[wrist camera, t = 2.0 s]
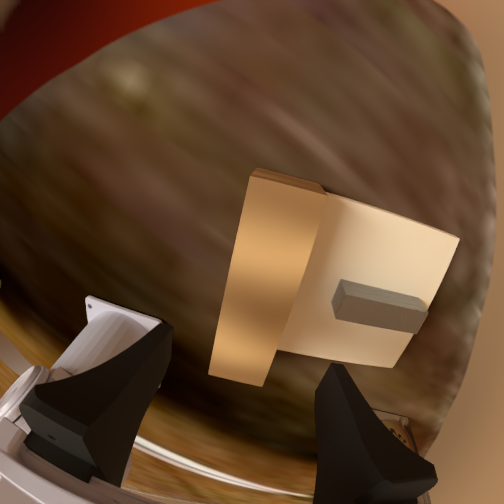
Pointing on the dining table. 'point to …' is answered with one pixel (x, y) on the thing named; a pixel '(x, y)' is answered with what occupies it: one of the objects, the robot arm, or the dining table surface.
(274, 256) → the oak bar
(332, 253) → the serving board
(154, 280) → the dining table surface
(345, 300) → the fulcrum strip
